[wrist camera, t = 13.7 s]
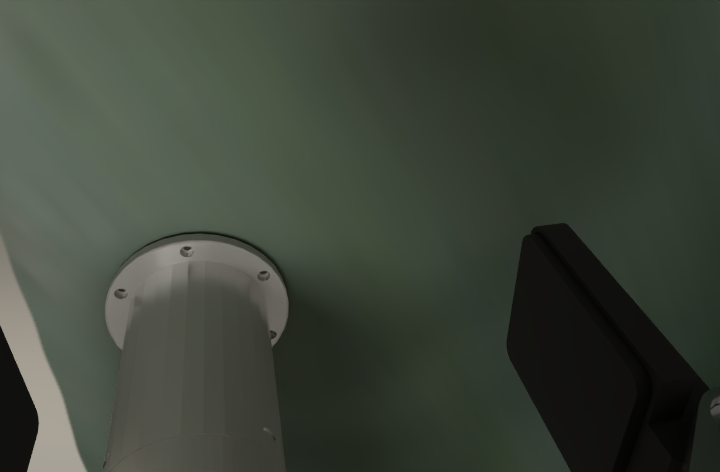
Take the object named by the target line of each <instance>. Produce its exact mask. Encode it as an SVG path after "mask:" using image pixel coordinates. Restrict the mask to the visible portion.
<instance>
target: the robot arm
mask: <svg viewBox="0 0 720 472" xmlns="http://www.w3.org/2000/svg"><path fill="white" fill-rule="evenodd" d="M186 246H188V247H186ZM288 309H289V302H288V295H287V289H286V286H285V284H284V281H283V278H282V276H281V274H280V273H279V271H278V270H277V268H276V267H275V265H274V264H273V263H272V262H271V261H270V260H269V259H268V258H267V257H266V256H265V255H264V254H262V253H260V252H259V251H257V250H256V249H254V248H253V247H251V246H250V245H247V244H245V243H243V242H240V241H238V240H236V239H232V238H228V237H224V236H220V235H211V234H187V235H178V236H174V237H170V238H166V239H162V240H160V241H157V242H155V243H152V244H150V245H148V246H146V247H144V248H143V249H141V250H139V251H138V252H136V253H135V254H133V255H132V256H131V257H130V258H129V259H128V260H127V261H126V262H125V263H124V264H123V265H121V266H120V268H119V269H118V271H117V272H116V274H115V275H114V277H113V279H112V281H111V284H110V286H109V289H108V292H107V297H106V303H105V321H106V324H107V327H108V331H109V333H110V335H111V337H112V338H113V340H114V342H115V343H116V345H117V346H118V347H119V348H120V349H121V350H122V356H121V362H120V368H119V374H118V380H117V386H116V392H115V398H114V405H113V411H112V417H111V423H110V429H109V435H108V441H107V447H106V453H105V460H104V466H103V472H286V466H285V458H284V449H283V440H282V431H281V423H280V414H279V405H278V396H277V388H276V379H275V370H274V361H273V353H272V347H273V346H274V345H275V343H276V342H277V341H278V340H279V338H280V336H281V334H282V333H283V331H284V329H285V326H286V322H287V319H288ZM507 351H508V355H509V358H510V360H511V362H512V364H513V366H514V368H515V370H516V371H517V373H518V375H519V377H520V379H521V381H522V382H523V384H524V386H525V388H526V390H527V392H528V393H529V395H530V397H531V399H532V401H533V403H534V404H535V406H536V408H537V410H538V412H539V414H540V415H541V417H542V419H543V421H544V423H545V425H546V426H547V428H548V430H549V432H550V434H551V436H552V437H553V439H554V441H555V443H556V445H557V447H558V448H559V450H560V452H561V454H562V456H563V458H564V459H565V461H566V463H567V465H568V467H569V469H570V470H571V472H720V386H717V387H713V388H711V389H709V387H708V386H707V385H706V384H705V383H704V382H703V381H702V379H701V378H700V377H699V376H698V375H697V374H696V372H695V371H694V370H693V369H692V368H691V367H690V365H689V364H688V363H687V362H686V361H685V360H684V358H683V357H682V356H681V355H680V354H679V353H678V352H677V350H676V349H675V348H674V347H673V346H672V345H671V343H670V342H669V341H668V340H667V339H666V338H665V336H664V335H663V334H662V333H661V332H660V331H659V329H658V328H657V327H656V326H655V325H654V324H653V323H652V321H651V320H650V319H649V318H648V317H647V316H646V314H645V313H644V312H643V311H642V310H641V309H640V307H639V306H638V305H637V304H636V303H635V302H634V300H633V299H632V298H631V297H630V296H629V295H628V294H627V292H625V290H624V289H623V288H622V287H621V286H620V285H619V283H618V282H617V281H616V280H615V279H614V278H613V276H612V275H611V274H610V273H609V272H608V271H607V269H606V268H605V267H604V266H603V265H602V264H601V262H600V261H599V260H598V259H597V258H596V257H595V256H594V254H593V253H592V252H591V251H590V250H589V249H588V247H587V246H586V245H585V244H584V243H583V242H582V240H581V239H580V238H579V237H578V236H577V235H576V233H575V232H574V231H573V230H572V229H571V228H570V227H569V226H568V225H567V224H564V223H560V224H552V225H544V226H536V227H534V228H533V230H532V231H531V235H526V236H525V237H524V238H523V242H522V247H521V254H520V260H519V266H518V273H517V279H516V285H515V292H514V298H513V304H512V311H511V317H510V323H509V330H508V336H507ZM38 425H39V422H38V414H37V410H36V408H35V405H34V404H33V401H32V398H31V396H30V394H29V391H28V389H27V387H26V385H25V382H24V380H23V377H22V375H21V373H20V371H19V368H18V366H17V364H16V361H15V359H14V357H13V354H12V352H11V350H10V347H9V345H8V343H7V341H6V338H5V336H4V333H3V331H2V329H1V326H0V472H27V469H28V465H29V462H30V458H31V455H32V451H33V448H34V444H35V440H36V437H37V433H38Z"/></svg>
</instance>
